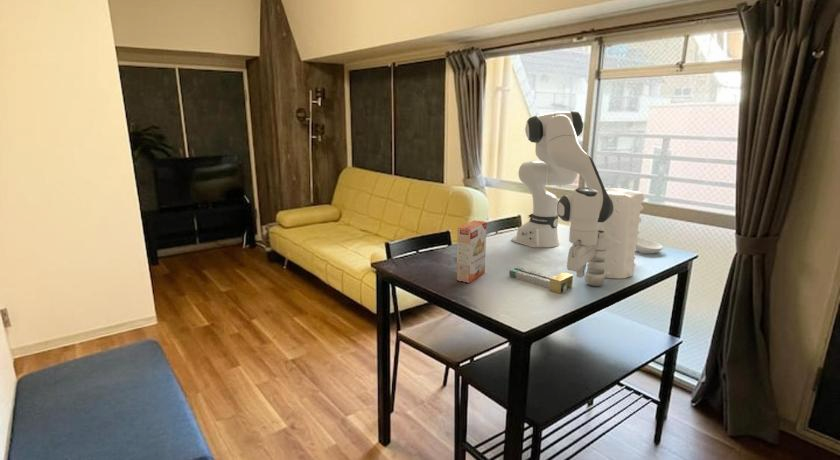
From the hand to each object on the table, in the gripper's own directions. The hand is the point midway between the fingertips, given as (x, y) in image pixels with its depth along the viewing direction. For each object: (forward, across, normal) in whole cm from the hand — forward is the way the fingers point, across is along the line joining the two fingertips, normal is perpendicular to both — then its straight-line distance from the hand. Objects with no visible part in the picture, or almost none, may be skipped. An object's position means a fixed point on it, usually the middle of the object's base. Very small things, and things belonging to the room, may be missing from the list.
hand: (580, 276), depth 155 cm
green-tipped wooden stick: (+7, +3, +16) cm, 17 cm away
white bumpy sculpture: (+7, +29, -3) cm, 30 cm away
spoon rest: (+7, +66, -4) cm, 67 cm away
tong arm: (+7, +6, +19) cm, 21 cm away
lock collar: (+7, +2, +7) cm, 10 cm away
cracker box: (+7, -5, +39) cm, 40 cm away
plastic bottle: (+7, +12, -2) cm, 14 cm away
